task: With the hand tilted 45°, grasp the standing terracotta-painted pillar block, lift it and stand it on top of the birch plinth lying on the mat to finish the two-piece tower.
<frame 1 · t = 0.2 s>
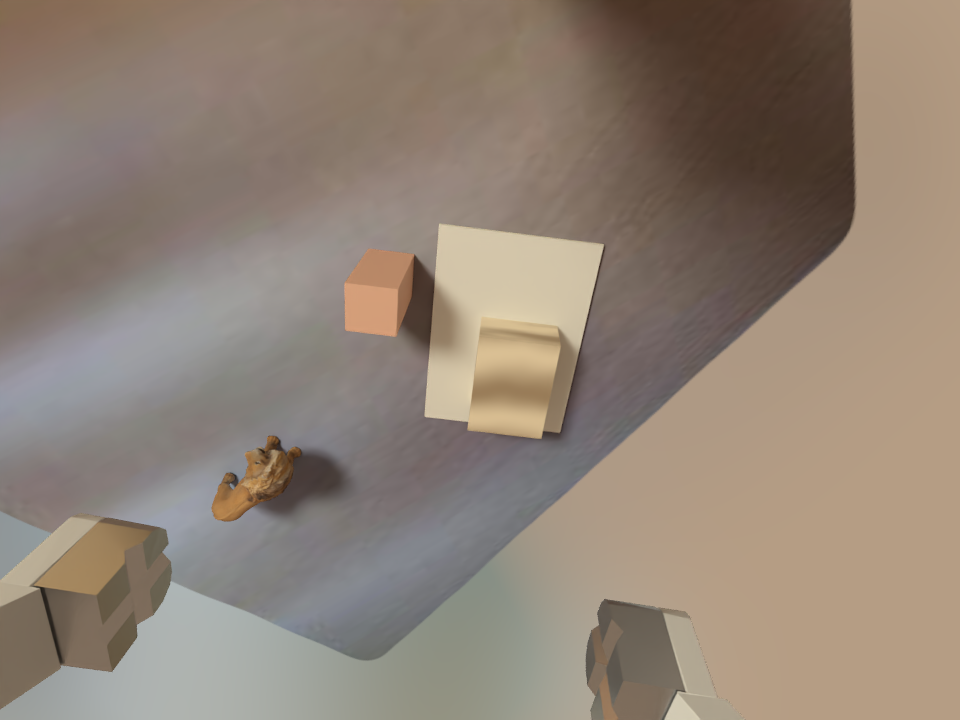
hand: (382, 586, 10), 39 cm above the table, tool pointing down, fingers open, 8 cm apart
lion figurine: (266, 454, 60), on the table
pillar: (390, 273, 49), on the table
plinth: (511, 367, 52), resting on mat
mat: (505, 337, 51), on the table
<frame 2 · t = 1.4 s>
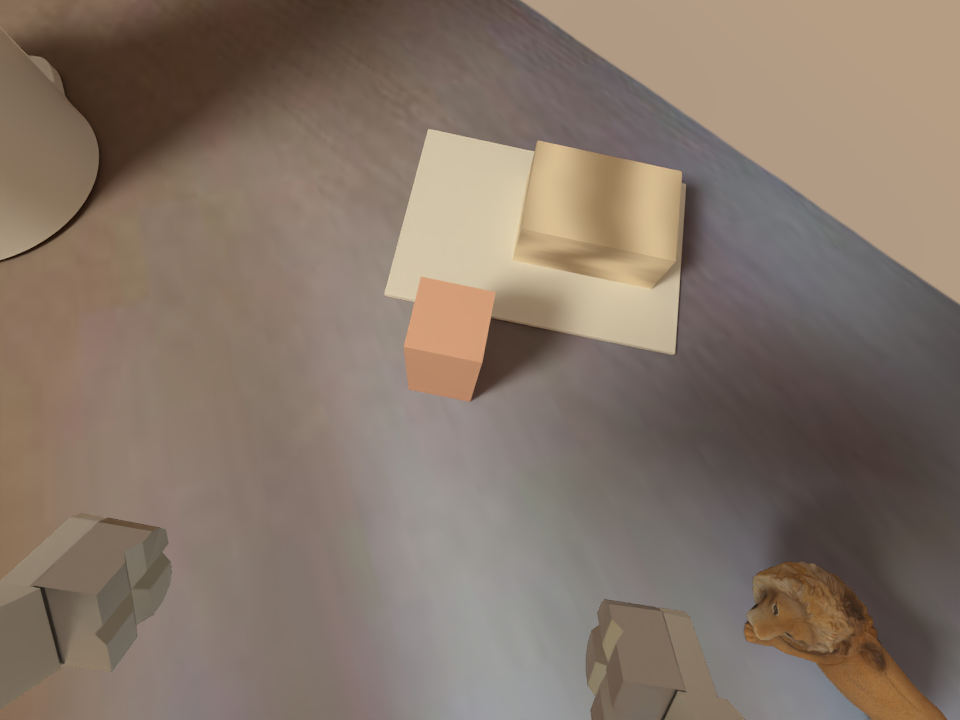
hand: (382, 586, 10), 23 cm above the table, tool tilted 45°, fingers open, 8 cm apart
lion figurine: (789, 657, 32), on the table
pillar: (445, 366, 35), on the table
plinth: (587, 232, 39), resting on mat
mat: (544, 237, 39), on the table
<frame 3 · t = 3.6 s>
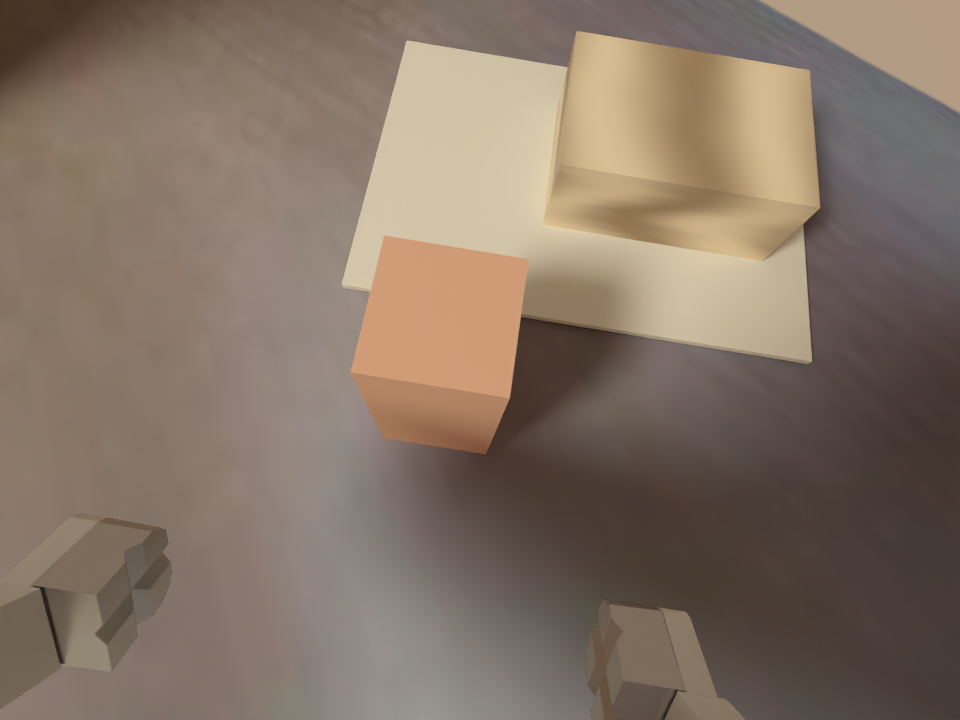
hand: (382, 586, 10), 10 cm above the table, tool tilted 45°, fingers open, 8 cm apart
pillar: (443, 397, 22), on the table
plinth: (655, 179, 26), resting on mat
mat: (589, 190, 25), on the table
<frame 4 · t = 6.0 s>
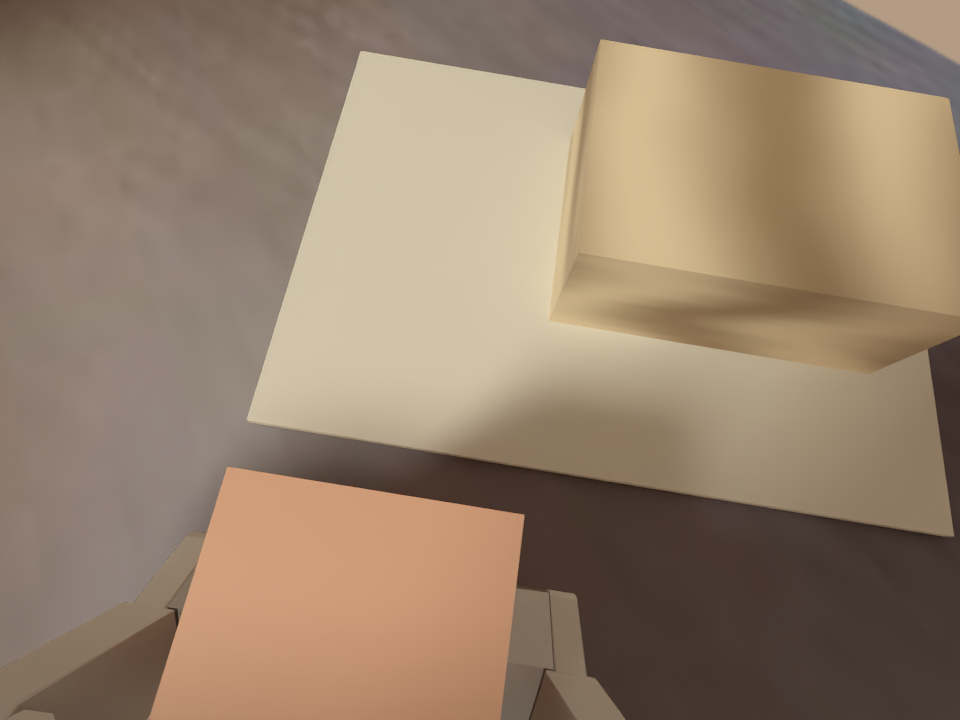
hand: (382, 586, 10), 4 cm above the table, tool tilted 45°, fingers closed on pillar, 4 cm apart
pillar: (395, 604, 14), on the table, touching gripper
plinth: (709, 249, 18), resting on mat
mat: (615, 265, 18), on the table
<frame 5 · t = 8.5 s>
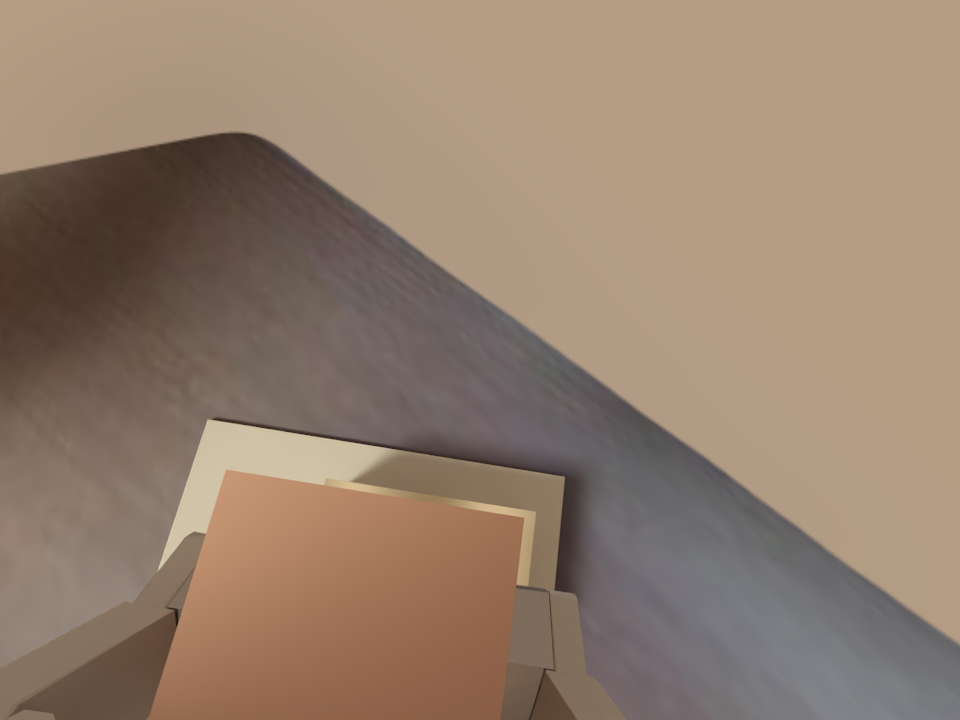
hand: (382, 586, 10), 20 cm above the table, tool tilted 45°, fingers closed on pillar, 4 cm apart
pillar: (395, 605, 14), point 15 cm above the table, touching gripper
plinth: (420, 571, 28), resting on mat
mat: (359, 583, 28), on the table
when the fingers open (10 cm above the table, at t = 11.2 s): pillar drops 1 cm, resting on plinth.
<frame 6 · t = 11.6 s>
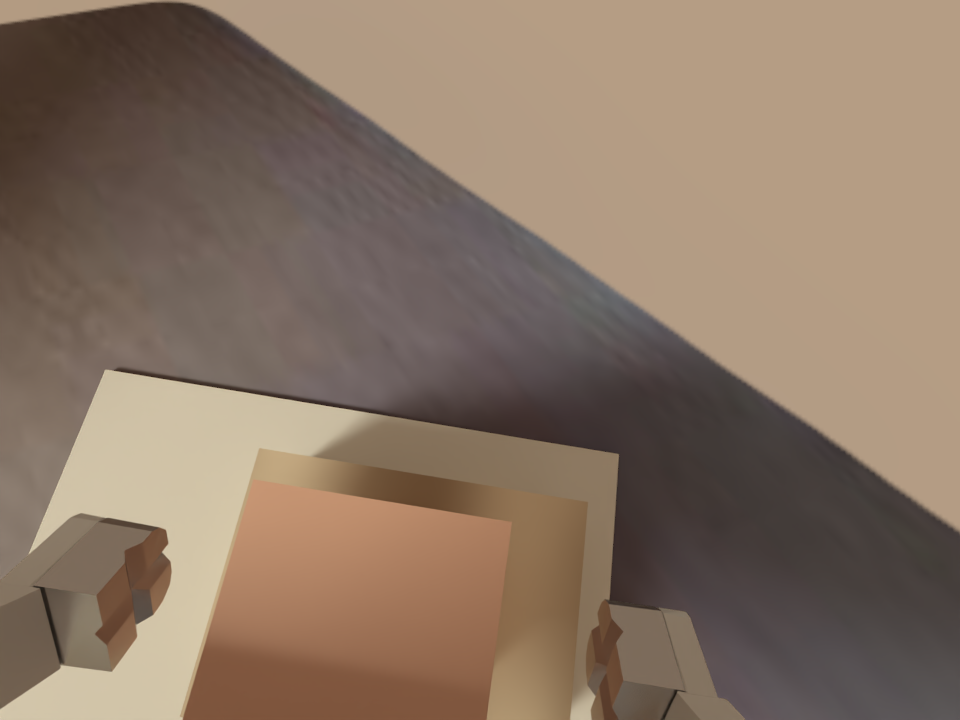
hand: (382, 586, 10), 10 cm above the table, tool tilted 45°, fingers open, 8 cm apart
pillar: (398, 601, 15), point 4 cm above the table, touching plinth
plinth: (409, 591, 19), resting on mat, touching pillar
mat: (318, 608, 19), on the table
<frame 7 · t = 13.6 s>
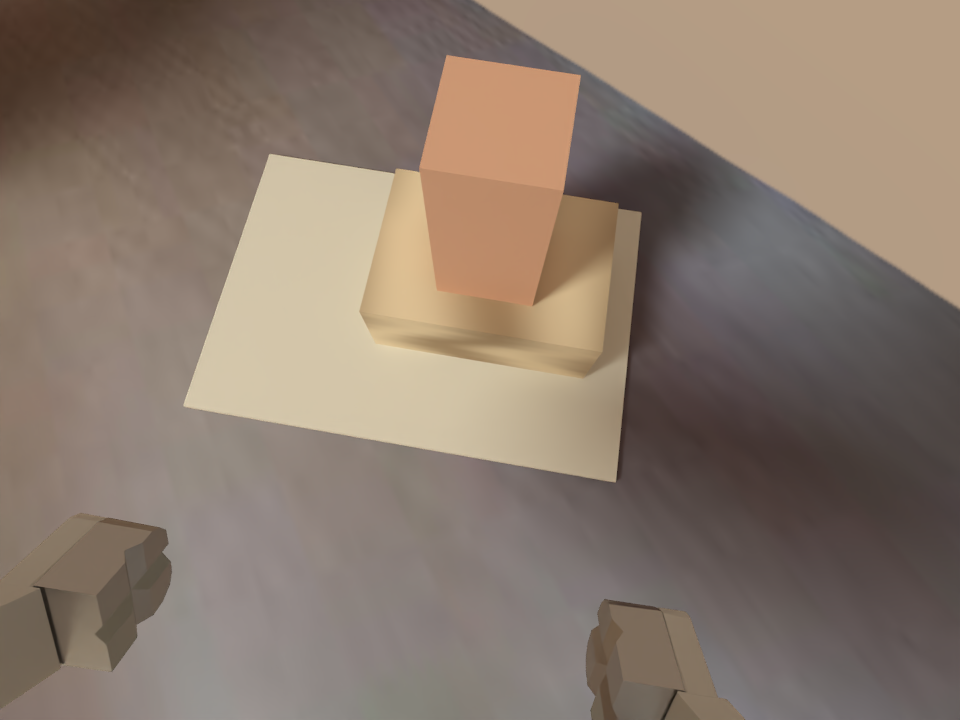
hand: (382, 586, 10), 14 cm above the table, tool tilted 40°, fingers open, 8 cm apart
pillar: (492, 255, 23), point 4 cm above the table, touching plinth
plinth: (490, 294, 27), resting on mat, touching pillar
mat: (427, 305, 27), on the table
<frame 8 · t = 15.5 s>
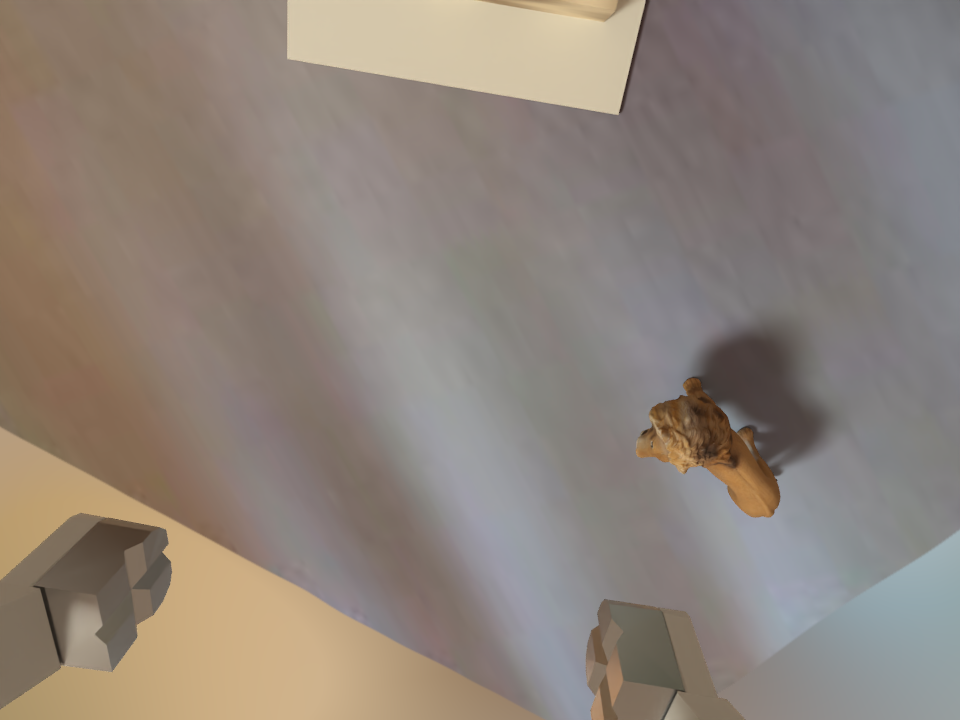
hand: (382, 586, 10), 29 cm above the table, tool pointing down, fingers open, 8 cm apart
lion figurine: (696, 423, 42), on the table
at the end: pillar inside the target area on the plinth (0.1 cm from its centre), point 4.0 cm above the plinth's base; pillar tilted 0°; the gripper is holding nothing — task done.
